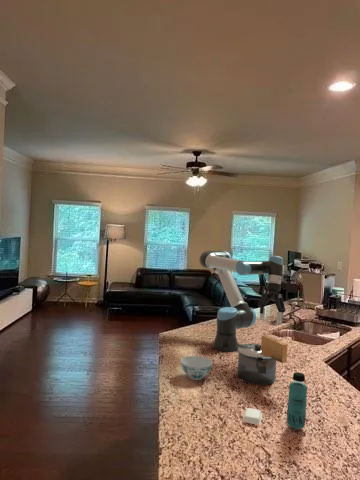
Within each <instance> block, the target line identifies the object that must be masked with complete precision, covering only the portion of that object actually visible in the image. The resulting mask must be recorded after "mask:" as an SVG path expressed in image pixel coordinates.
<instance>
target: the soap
mask: <svg viewBox="0 0 360 480" xmlns="http://www.w3.org/2000/svg"><path fill="white" fill-rule="evenodd" d="M261 420H263V414H262V410H260V409H256V408H251V407H247V408H246V410H245V411H244V413H243V416H242V422H243V421H244V422H248V423H252V424H259V425H260V423H261V424H262V422H261ZM252 424H251V425H252ZM260 426H261V425H260Z"/></svg>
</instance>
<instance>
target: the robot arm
mask: <svg viewBox="0 0 360 480" xmlns="http://www.w3.org/2000/svg"><path fill="white" fill-rule="evenodd" d="M198 261H199V264H200V266H202V267H203V268H205V269H213V271H214V274H217V275H218V278H219V280H220V282H221V285H222V287H223V290H224V292H225V295H226V297H227V300H228V302H229V304H230V306H225V307H221V308H219V309H218V310H217V315H216V334H215V338H214V340H213V342H212V348H213V349H214V350H218V351H222V352H235V351H238V346H239V342H238V339H237V330H239V329H248V328H249V327H253V325H255V323H256V321H257V313H256V310H254V308H252V307H249V304H248V302H245V300H244V298H243V295H242V294H241V291H240V289H239V287H238V284H237V283H236V280H235V277H234V275H233V273H237V274H238V275H240V276H251V275H258V276H259V275H267V283H266V289H263V290H262V294H261V296H260V298H259V300H258V303H257V306H258V308H259V320H260V321H265V315H266V306H267V304H268V303H269V302H270V301H273V303H275V306H276V309H277V312H276V313H277V314H276V323H275V324H276V325H281V324H282V318H283V314H284V313H285V312H286V307H285V302H284V295H283V294H281V293H280V292H281V287H282V285H281V284H282V278H283V268H284V258H283V257H281V256H278V255H272V256H270V257H269V260H262V261H261V260H259V261H247V260H240V259H236V258H232V256H231V254H230V253H229V252H227V251H225V250H206V251H204V252H202V253H201V254H200V255H199V260H198ZM232 272H233V273H232Z"/></svg>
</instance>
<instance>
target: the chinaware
mask: <svg viewBox="0 0 360 480" xmlns="http://www.w3.org/2000/svg"><path fill="white" fill-rule="evenodd" d="M180 365H181V367H182V371H183V372H184V373H185V374H186V375H187V376H188V378H189V379H190V380H192V381H200V380H203V379H204V377H205V376H207V375H208V374H209V373H210V371H211V369H212V367H213V360H212V359H210V358H208V357H205V356H199V355H191V356H190V355H188V356H184V357H182V358H181V359H180Z"/></svg>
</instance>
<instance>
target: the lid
mask: <svg viewBox="0 0 360 480" xmlns="http://www.w3.org/2000/svg"><path fill="white" fill-rule="evenodd" d="M237 353H238V354H239V353H240V354H242V355H244V356H247V357H252V358H258V359H271V358H273V359H275V360H277V361H276V362H279V363H280V364H286V363H287V360H288V359H287V358H288V343H285V342H283V341H280V340H278V339H276V338H273V337H271V336H269V335H266V334H265V335H264V334H263V335H261V342H260V343H244V344H243V343H242V344H240V345H238V350H237Z"/></svg>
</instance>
